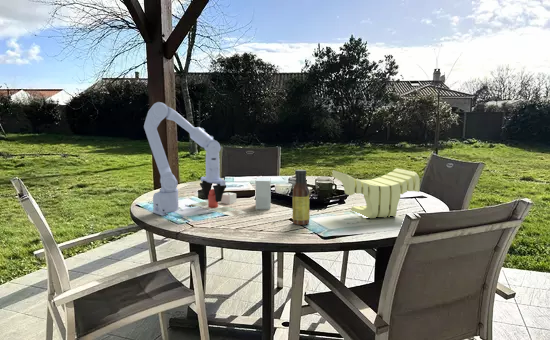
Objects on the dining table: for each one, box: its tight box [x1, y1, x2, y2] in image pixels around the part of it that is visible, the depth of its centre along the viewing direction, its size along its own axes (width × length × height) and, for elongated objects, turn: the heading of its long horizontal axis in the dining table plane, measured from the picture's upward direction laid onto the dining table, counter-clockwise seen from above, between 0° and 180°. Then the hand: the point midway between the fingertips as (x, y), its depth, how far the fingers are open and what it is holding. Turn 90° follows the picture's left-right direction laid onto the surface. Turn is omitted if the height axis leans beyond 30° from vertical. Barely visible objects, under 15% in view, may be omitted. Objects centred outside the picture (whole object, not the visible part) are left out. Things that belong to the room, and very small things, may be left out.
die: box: [220, 192, 237, 205], centre depth 164 cm, size 5×5×5 cm
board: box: [188, 200, 248, 217], centre depth 154 cm, size 10×28×1 cm, turn 46°
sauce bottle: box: [292, 169, 311, 226], centre depth 135 cm, size 6×6×20 cm
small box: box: [255, 177, 272, 210], centre depth 156 cm, size 8×6×13 cm
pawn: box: [207, 188, 219, 209], centre depth 156 cm, size 4×4×8 cm
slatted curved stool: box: [332, 167, 421, 219], centre depth 148 cm, size 30×16×18 cm, turn 106°
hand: (213, 200), depth 156 cm, fingers open, 7 cm apart
